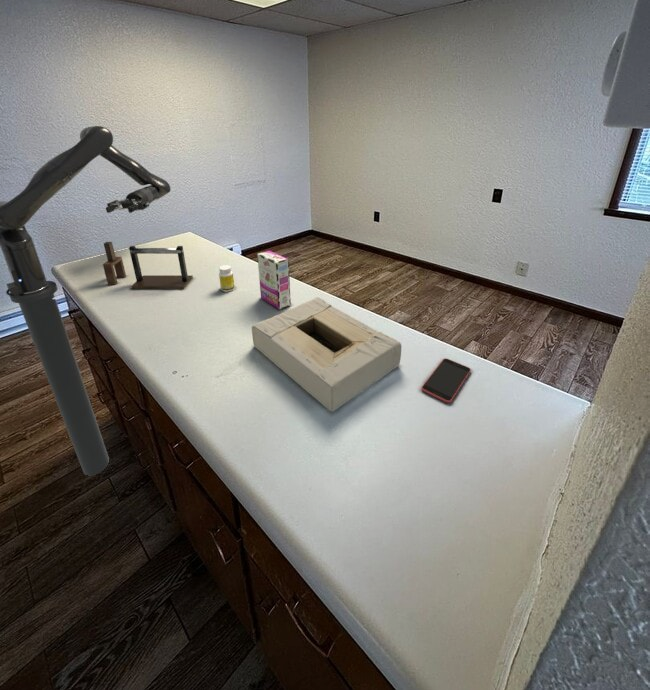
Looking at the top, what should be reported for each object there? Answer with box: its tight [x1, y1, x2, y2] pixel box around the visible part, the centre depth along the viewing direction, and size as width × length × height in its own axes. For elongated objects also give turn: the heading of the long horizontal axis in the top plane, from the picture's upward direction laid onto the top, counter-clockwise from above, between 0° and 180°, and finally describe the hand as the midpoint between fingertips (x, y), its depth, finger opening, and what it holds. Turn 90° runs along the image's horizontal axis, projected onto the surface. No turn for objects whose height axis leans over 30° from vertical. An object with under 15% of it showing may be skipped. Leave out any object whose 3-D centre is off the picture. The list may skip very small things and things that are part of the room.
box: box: [251, 296, 402, 413], centre depth 92 cm, size 23×8×32 cm
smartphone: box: [421, 358, 472, 404], centre depth 84 cm, size 7×1×14 cm
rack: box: [128, 245, 194, 290], centre depth 130 cm, size 9×19×15 cm, turn 89°
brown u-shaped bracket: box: [102, 241, 127, 286], centre depth 133 cm, size 7×3×15 cm, turn 179°
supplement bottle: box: [218, 264, 235, 293], centre depth 127 cm, size 5×5×8 cm
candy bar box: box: [256, 250, 292, 311], centre depth 117 cm, size 11×5×16 cm, turn 42°
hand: (118, 210), depth 136 cm, fingers open, 8 cm apart
